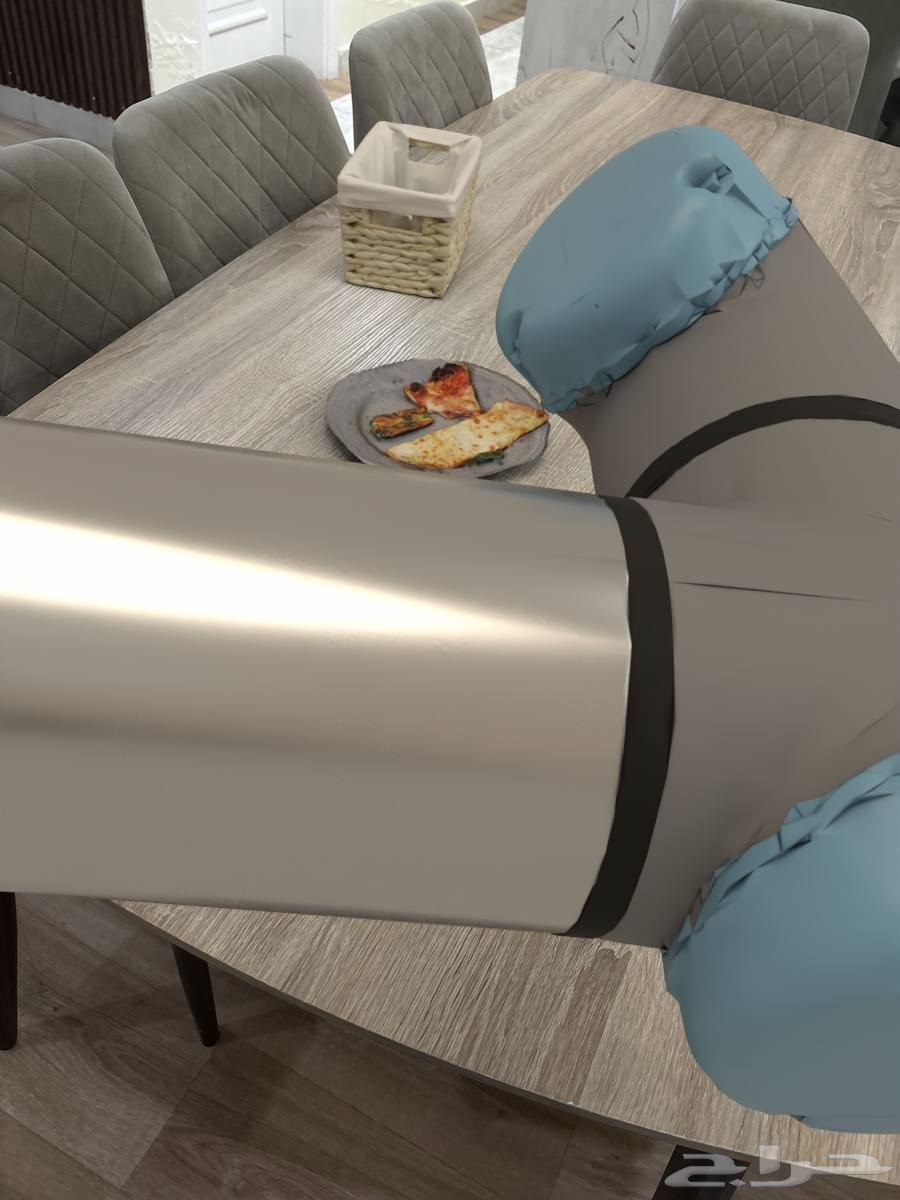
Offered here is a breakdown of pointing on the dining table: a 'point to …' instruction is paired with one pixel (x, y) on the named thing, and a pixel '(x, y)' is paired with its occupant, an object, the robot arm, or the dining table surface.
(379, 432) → the food plate
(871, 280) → the dining table surface
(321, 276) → the dining table surface
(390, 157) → the basket
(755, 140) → the dining table surface
